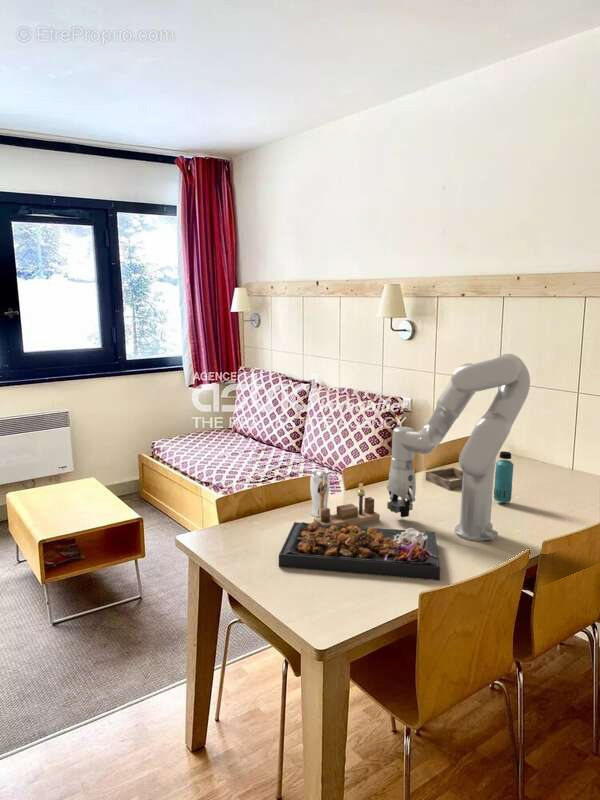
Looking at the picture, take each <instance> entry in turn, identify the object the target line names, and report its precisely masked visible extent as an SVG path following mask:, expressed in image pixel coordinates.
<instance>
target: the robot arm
mask: <svg viewBox="0 0 600 800" xmlns="http://www.w3.org/2000/svg"><path fill="white" fill-rule="evenodd" d="M498 387H499V389H498V390H497V392H496V394H495V396H494V398H493V400H492V402H491V403H490V405H489V408H488V409H487V411H486V412H485V414H483V415H482V416H481V418H480V419H479V420H478V422H477V423H476V424H475V426H474V428H473V430H472V432H471V434H470V436H469V437H468V439H467V440H466V443H465V445H464V446H463V448H462V449H461V451H460V453H459V455H458V457H459V458H458V464H459V468H460V470H461V471H463V480H462V488H461V498H460V499H461V500H460V502H461V503H460V515H459V517H460V519H459V524H457V525H456V526H455V527H454V533H455V534H456V535H457V536H458V537H460V538H462V539H464V540H467V541H468V540H469V541H473V540H474V542H475V541H476V542H486V541H485V540H487V541H490V540H494V539H495V538H496V536H497V535H498V534H499V533H498V531H496V530H495V529H493V526H494V525H493V523H492V522H491V519H492V507H493V506H492V503H493V502H492V501H493V492H494V481H495V471H496V463H497V461H496V460H497V455H498V454H499V453H500V452H501V451H500V450H501V448H502V447H503V445H504V444H505V442H506V440H507V439H508V436H509V435H510V432H511V429H512V427H513V425H514V423H515V421H516V419H517V417H518V415H519V413H520V411H521V409H522V408H523V407H524V406H523V405H524V404H525V403H526V399H527V398H528V395H529V392H530V387H531V376H530V372H529V369H528V368H527V365H526V364H525V363H524V361H523V360H522V359H521V357H519V356H517V355H515V354H512V353H504V354H501V355H499V356H498V357H496V358H492V359H488V360H484V361H481V362H475V363H468V362H466V363H464V364H462V365H460V366H458V367H457V368H456V369H454V371H453V372H452V374H451V378H450V381H449V382H448V384H447V385H446V387H445V388H444V390H443V391H442V393H441V394H440V396H438V399H437V401H436V406H435V409H434V411H433V413H432V415H431V416H430V418H429V419H428V420H427V422H426V424H425V425H424V426H423V428H422V429H421V430H419V431H415V429H414V428H412V427H409V426H397V427H394V428H393V430H392V435H391V437H392V439H391V457H390V468H389V474H388V483H387V486H386V489H387V491H388V493H389V500H390V502H391V501H397V500H402V506H401V512H400V518H406V517H410V511H409V506H410V505H411V504H413V503H414V502H416V497H415V496H416V487H417V486H416V483H417V480H416V472H415V468H414V463H415V462H414V461H415V460H414V458H415V453H417V454H421V455H429V454H430V453H432V452H433V451H434V450H435V449H436V448H437V447H438V446H439V445H440V443H441V442H442V441H443V440H444V438H445V436H446V435H447V433H448V432H449V431H450V429H451V428H452V426H453V425H454V423H455V422H456V420H457V419H459V417H460V416H461V414H462V412H463V411H464V409H466V406H467V405H468V403H469V402H470V401H471V399H472V398H473V396H474V395H475V394H476V392H481V391H485V390H486V391H487V390H490V389H494V388H498ZM399 497H400V498H401V499H399ZM405 500H406V502H405ZM389 510H390V509H389ZM390 512H392V513H394V512H393V511H391V510H390Z"/></svg>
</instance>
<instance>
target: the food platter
mask: <svg viewBox="0 0 600 800" xmlns="http://www.w3.org/2000/svg"><path fill="white" fill-rule="evenodd" d="M289 530H290V531H289V533H288V535H287V537H286V539H285V541H284V543H283V545H282V548H281V550H280V552H279V553H278V568H289V569H301V570H312V571H323V572H324V571H325V572H336V573H345V574H357V575H359V574H360V575H369V576H380V577H382V576H384V577H393V578H406V579H416V578H418V579H419V578H420V579H419V580H428V579H433V580H432V581H440V580H441V567H440V566H441V565H440V559H439V552H438V544H437V538H436V532H435V531H428V530H423V531H422V530H421V531H420V530H416V529H415V528H413V527H409V528H406V529H405V530H404V529H393V528H381V527H379V528H378V527H371V526H369V527H364V526H355V525H351V526H350V525H349V524H347V523H346V524H343V525H341V526H340V525H326V524H317V523H316V522H314V521H312V522H311V523H309V522H304V521H302V522H296V521H295V522H293V523H292V526H291V529H289Z"/></svg>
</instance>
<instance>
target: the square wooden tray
mask: <svg viewBox="0 0 600 800" xmlns="http://www.w3.org/2000/svg"><path fill="white" fill-rule="evenodd" d="M451 477H454V478H456V479H454V480H449V479H448V478H451ZM462 480H463V471H462V469H458V468H455V467H448V468H441V469H436V470H430V471H425V481H428V482H430V483H432V484H434V485H437V486H439V487H441V488H443V489H446V490H448V491H454V490H458V489H457V488H459V489H462ZM453 489H454V490H453Z"/></svg>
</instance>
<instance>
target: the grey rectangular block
mask: <svg viewBox="0 0 600 800" xmlns="http://www.w3.org/2000/svg"><path fill="white" fill-rule="evenodd" d="M406 501H407V499H405V502H406ZM386 506H387V507H386V509H387V510H391V511H393V512H392V513H395V514H398V513H401V506H402V499H399V500H397V501H391V500H390V501H387V505H386ZM413 506H414V505H413V503H412V504H411V505H410V506H409V512H410V511H412V510H413ZM391 511H390V512H391Z"/></svg>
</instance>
